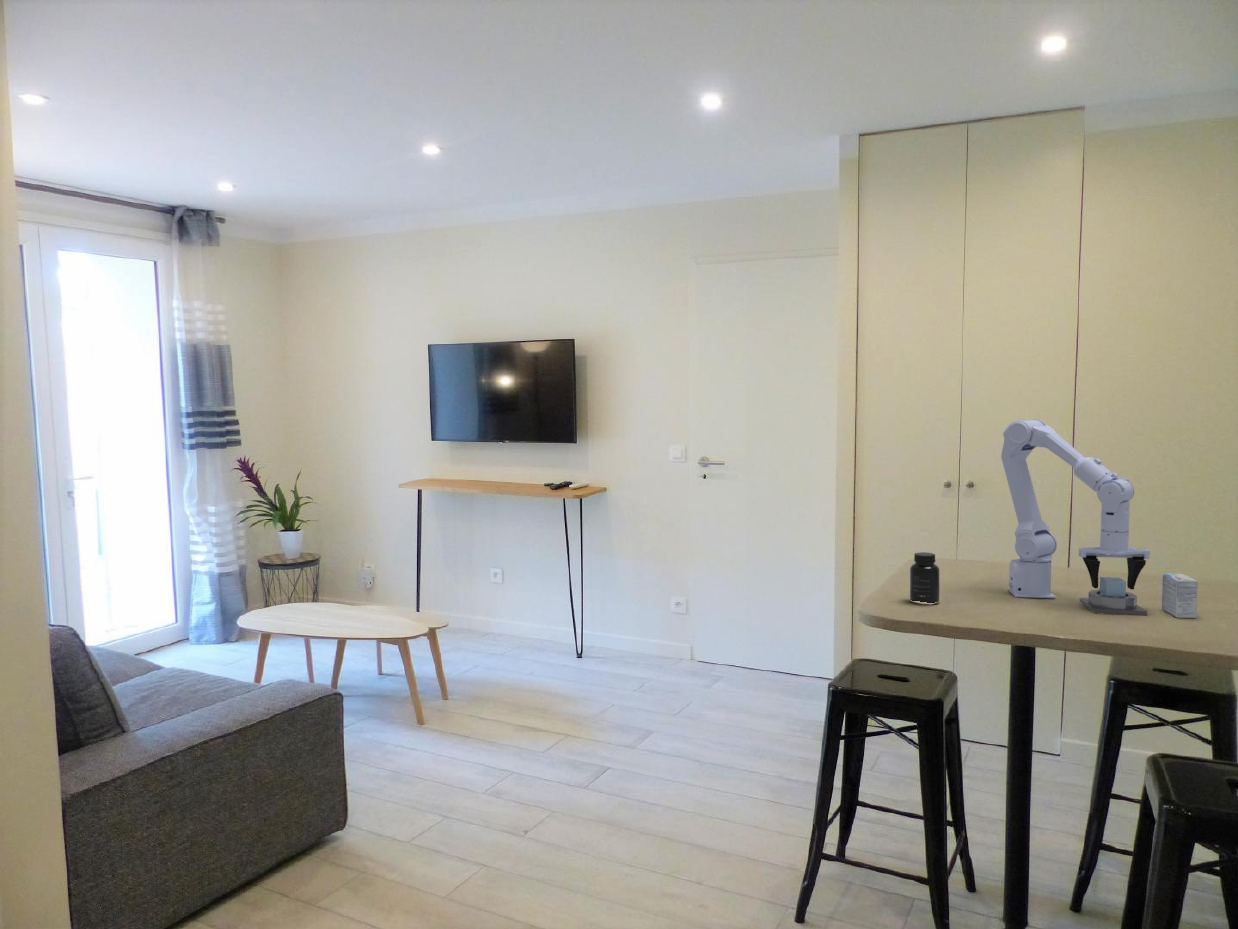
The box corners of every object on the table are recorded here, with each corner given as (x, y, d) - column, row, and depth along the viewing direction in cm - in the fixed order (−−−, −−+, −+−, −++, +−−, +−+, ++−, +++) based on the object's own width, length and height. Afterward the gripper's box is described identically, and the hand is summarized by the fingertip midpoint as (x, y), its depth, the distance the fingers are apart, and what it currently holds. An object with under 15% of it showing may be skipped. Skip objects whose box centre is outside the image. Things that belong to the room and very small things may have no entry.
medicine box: (1197, 619, 195) (1198, 580, 194) (1175, 618, 196) (1176, 580, 195) (1182, 610, 202) (1183, 573, 202) (1160, 609, 203) (1162, 573, 203)
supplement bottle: (913, 597, 218) (913, 550, 217) (941, 600, 215) (942, 552, 214) (906, 603, 212) (907, 555, 211) (936, 606, 209) (936, 557, 208)
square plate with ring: (1094, 613, 200) (1094, 598, 200) (1079, 602, 211) (1079, 587, 211) (1146, 615, 198) (1147, 600, 198) (1129, 603, 209) (1129, 589, 209)
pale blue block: (1103, 606, 203) (1104, 581, 202) (1096, 601, 208) (1097, 576, 207) (1127, 607, 202) (1128, 581, 201) (1119, 602, 207) (1120, 577, 206)
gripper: (1086, 532, 201) (1084, 590, 202) (1155, 534, 198) (1153, 592, 199) (1076, 528, 208) (1075, 584, 209) (1143, 529, 205) (1141, 586, 206)
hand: (1112, 588), depth 204 cm, fingers open, 7 cm apart
